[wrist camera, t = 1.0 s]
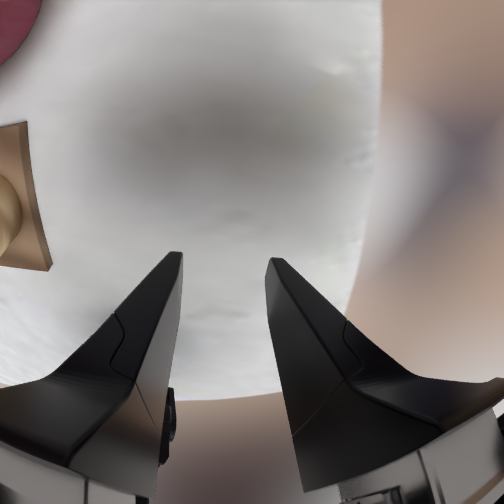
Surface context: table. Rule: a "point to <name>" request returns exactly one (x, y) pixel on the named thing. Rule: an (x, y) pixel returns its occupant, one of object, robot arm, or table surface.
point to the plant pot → (15, 24)
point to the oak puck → (9, 214)
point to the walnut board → (23, 202)
